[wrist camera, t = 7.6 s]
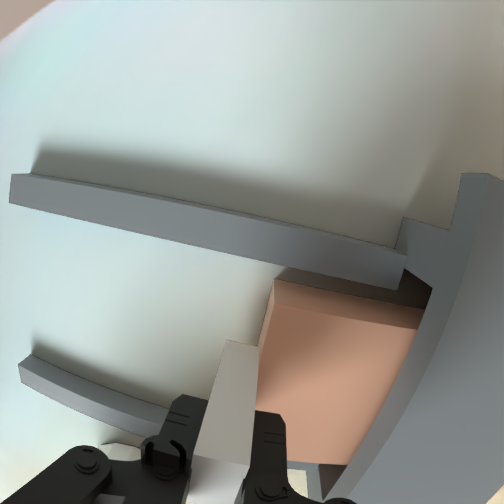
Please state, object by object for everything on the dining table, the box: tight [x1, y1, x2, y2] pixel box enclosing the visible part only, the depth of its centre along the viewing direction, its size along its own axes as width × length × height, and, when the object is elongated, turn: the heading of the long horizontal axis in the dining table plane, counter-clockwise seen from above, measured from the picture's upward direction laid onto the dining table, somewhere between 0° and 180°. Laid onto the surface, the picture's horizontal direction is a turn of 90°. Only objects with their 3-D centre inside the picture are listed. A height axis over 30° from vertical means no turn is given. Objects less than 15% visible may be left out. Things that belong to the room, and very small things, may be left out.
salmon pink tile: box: [255, 279, 425, 465], centre depth 13 cm, size 14×8×3 cm, turn 78°
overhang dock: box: [9, 173, 504, 504], centre depth 12 cm, size 31×20×6 cm, turn 78°
